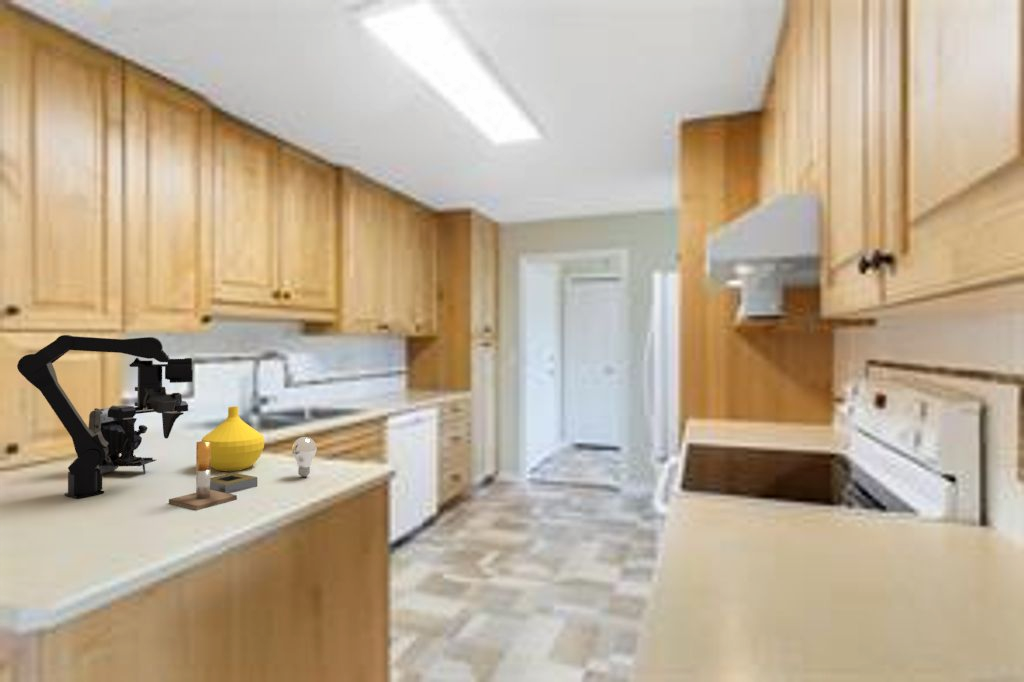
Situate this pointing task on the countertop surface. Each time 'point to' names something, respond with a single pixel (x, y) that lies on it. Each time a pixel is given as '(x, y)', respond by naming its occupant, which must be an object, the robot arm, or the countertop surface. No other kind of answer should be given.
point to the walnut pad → (202, 500)
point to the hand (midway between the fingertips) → (149, 440)
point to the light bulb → (304, 454)
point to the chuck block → (232, 482)
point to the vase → (234, 444)
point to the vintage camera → (116, 442)
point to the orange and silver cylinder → (203, 469)
